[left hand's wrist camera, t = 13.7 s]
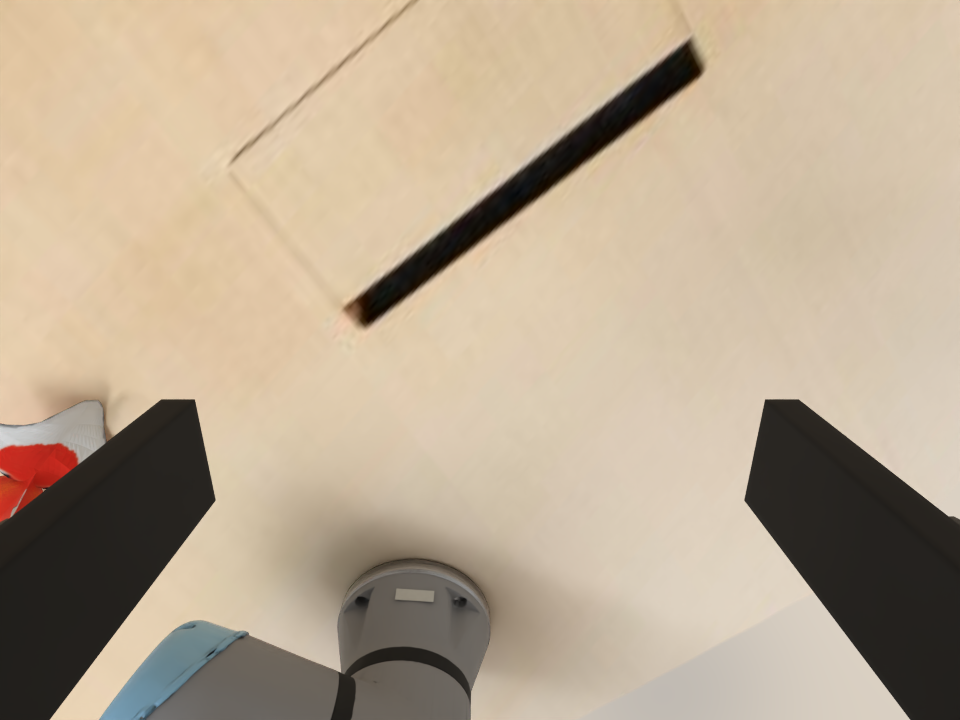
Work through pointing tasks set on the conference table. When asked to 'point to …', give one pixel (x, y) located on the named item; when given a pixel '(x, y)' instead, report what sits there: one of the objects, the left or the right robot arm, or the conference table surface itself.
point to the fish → (46, 452)
